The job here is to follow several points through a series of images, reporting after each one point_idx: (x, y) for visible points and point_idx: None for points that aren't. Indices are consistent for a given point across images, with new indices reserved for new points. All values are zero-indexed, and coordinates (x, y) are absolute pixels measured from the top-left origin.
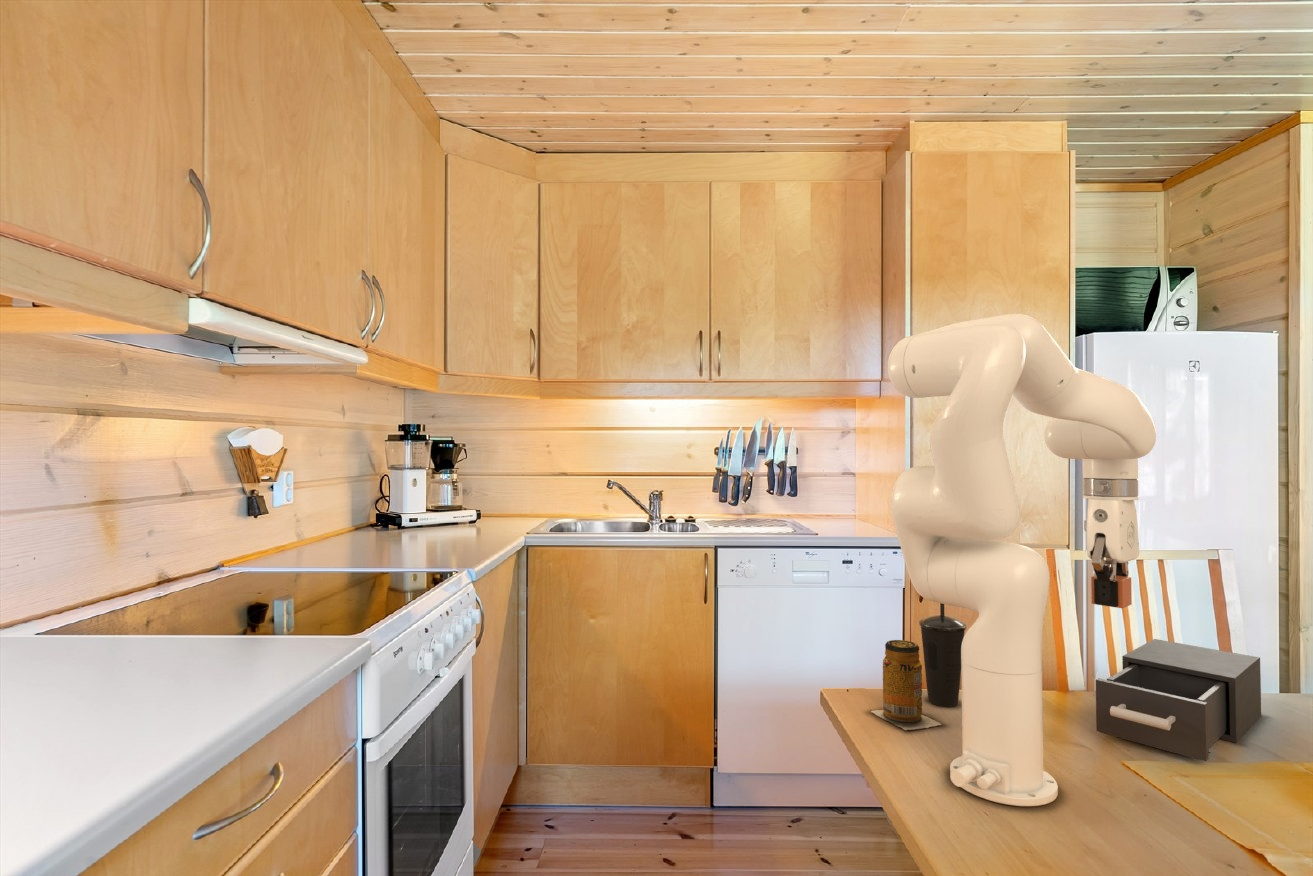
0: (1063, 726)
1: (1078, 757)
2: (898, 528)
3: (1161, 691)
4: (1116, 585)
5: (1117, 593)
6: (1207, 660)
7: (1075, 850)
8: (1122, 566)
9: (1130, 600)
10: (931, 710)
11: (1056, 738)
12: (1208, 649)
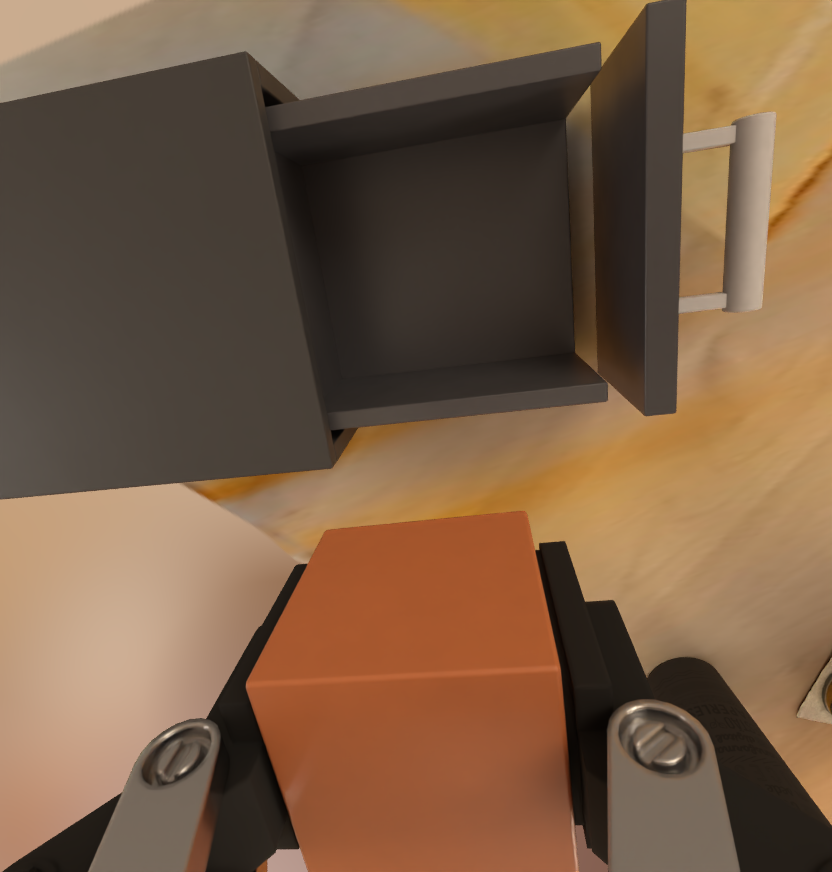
0: (603, 451)
1: (809, 327)
2: None
3: (315, 331)
4: (603, 659)
5: (576, 601)
6: (80, 251)
7: None
8: (204, 869)
9: (345, 544)
10: (763, 674)
11: (710, 421)
12: None
